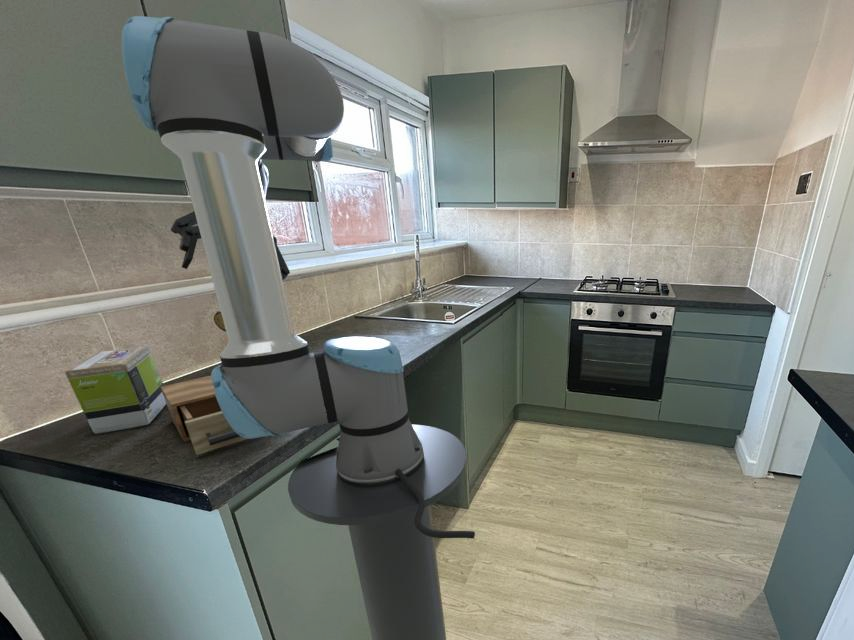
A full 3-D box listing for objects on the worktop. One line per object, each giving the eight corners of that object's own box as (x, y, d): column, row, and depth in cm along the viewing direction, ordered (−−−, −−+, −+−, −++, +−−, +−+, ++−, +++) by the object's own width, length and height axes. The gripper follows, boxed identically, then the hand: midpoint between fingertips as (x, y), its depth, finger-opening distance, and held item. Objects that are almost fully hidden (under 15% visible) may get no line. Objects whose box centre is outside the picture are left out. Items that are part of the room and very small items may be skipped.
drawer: (269, 441, 82) (261, 410, 79) (201, 463, 74) (189, 430, 72) (244, 415, 93) (236, 387, 91) (183, 432, 86) (173, 403, 84)
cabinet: (252, 421, 92) (242, 386, 89) (184, 442, 84) (170, 404, 81) (235, 404, 102) (225, 372, 99) (172, 421, 93) (160, 386, 90)
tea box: (121, 408, 101) (97, 350, 96) (171, 401, 104) (151, 344, 99) (91, 435, 88) (62, 369, 83) (150, 425, 92) (125, 362, 86)
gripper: (293, 249, 100) (287, 316, 90) (165, 186, 82) (139, 261, 72) (309, 229, 97) (305, 297, 86) (178, 158, 79) (153, 233, 68)
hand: (229, 281), depth 79 cm, fingers open, 13 cm apart
